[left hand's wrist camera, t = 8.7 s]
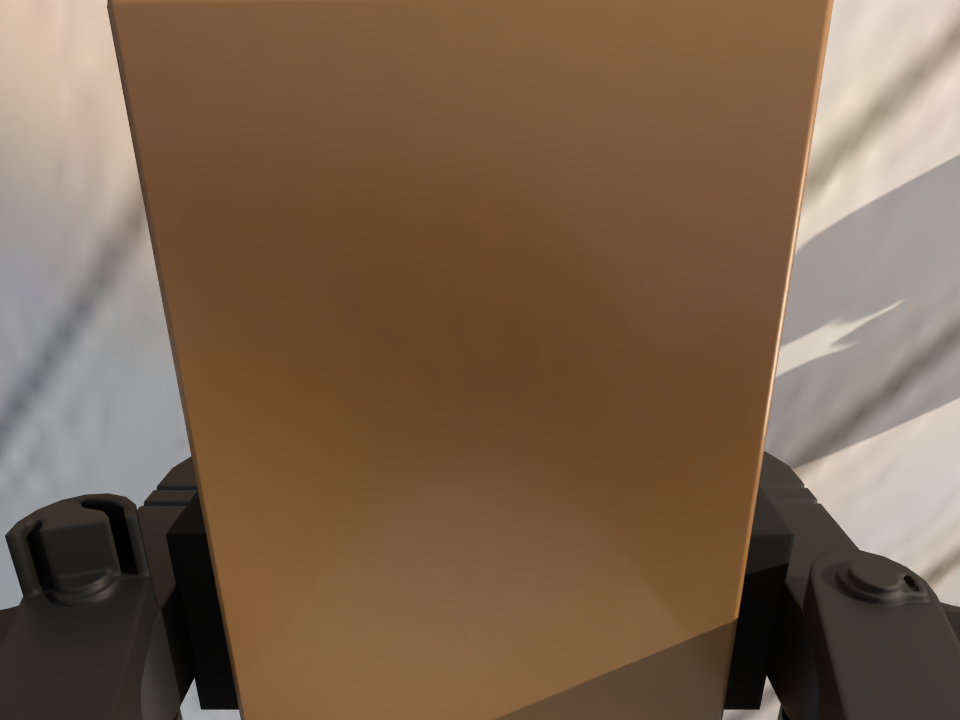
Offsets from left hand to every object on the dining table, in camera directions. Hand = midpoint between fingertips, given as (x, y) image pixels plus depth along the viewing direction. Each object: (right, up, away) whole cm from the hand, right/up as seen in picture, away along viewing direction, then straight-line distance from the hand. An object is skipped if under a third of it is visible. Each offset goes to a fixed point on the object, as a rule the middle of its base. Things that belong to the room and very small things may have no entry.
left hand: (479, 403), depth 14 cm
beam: (0, -27, +11) cm, 30 cm away
